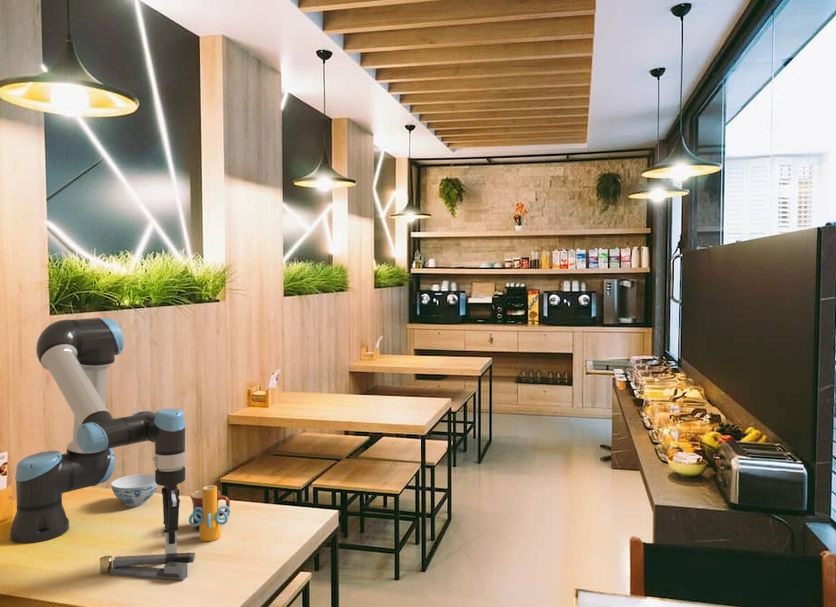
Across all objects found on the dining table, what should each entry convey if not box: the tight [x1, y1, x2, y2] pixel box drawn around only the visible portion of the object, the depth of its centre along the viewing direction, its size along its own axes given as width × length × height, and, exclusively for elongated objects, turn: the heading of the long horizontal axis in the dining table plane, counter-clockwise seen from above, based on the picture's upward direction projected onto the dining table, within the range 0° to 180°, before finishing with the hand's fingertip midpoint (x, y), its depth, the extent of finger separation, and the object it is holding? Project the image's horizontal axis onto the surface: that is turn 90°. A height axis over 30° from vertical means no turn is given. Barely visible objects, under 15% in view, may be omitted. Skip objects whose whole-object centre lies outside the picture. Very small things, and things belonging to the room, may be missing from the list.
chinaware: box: [110, 473, 159, 508], centre depth 214 cm, size 15×15×8 cm
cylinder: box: [188, 484, 231, 542], centre depth 185 cm, size 12×10×15 cm
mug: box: [189, 489, 231, 530], centre depth 194 cm, size 12×9×10 cm
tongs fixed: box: [99, 555, 188, 582], centre depth 161 cm, size 23×3×4 cm, turn 81°
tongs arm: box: [112, 552, 196, 567], centre depth 165 cm, size 20×3×2 cm, turn 97°
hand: (171, 553), depth 170 cm, fingers closed
